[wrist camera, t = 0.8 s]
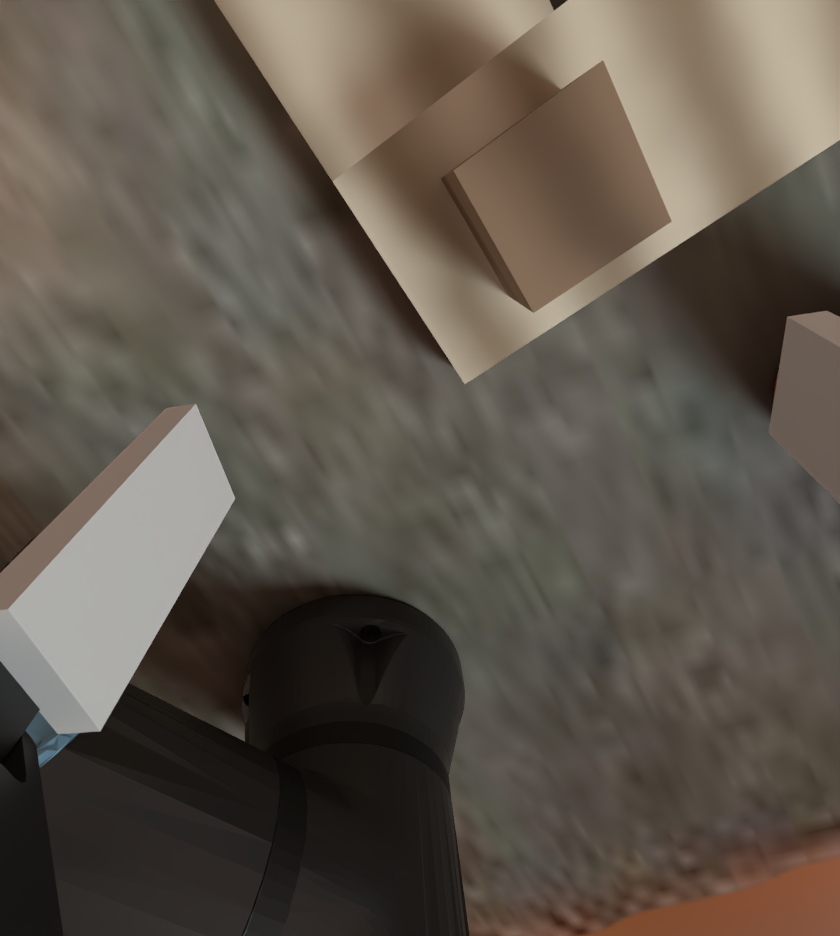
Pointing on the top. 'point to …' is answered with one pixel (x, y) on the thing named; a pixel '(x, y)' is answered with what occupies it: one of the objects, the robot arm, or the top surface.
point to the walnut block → (559, 192)
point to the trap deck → (521, 91)
